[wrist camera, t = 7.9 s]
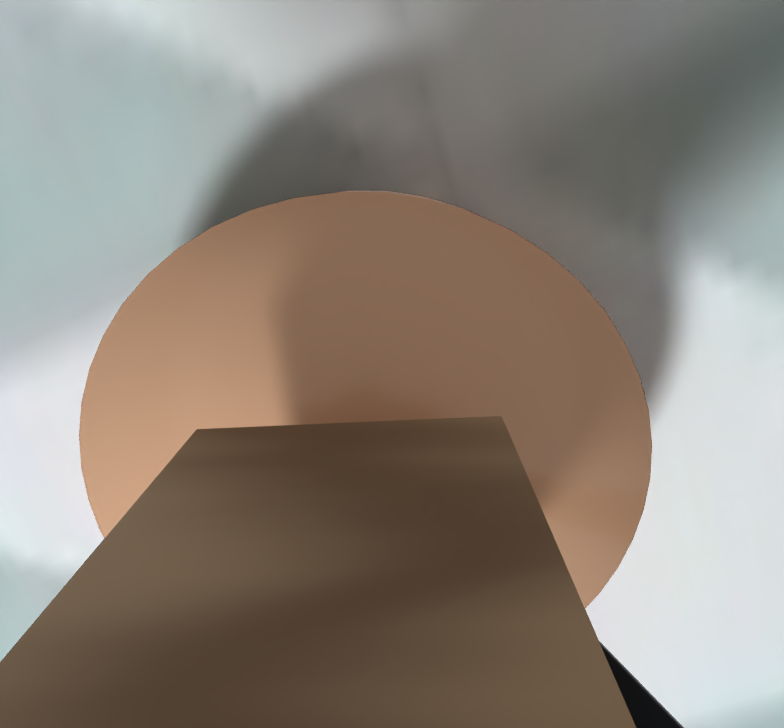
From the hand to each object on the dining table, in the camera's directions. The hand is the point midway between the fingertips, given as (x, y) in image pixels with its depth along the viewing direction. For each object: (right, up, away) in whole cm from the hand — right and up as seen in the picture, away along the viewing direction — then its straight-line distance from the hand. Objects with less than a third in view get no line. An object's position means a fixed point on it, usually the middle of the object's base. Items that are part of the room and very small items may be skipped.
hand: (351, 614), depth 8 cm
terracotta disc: (0, +2, +6) cm, 6 cm away
